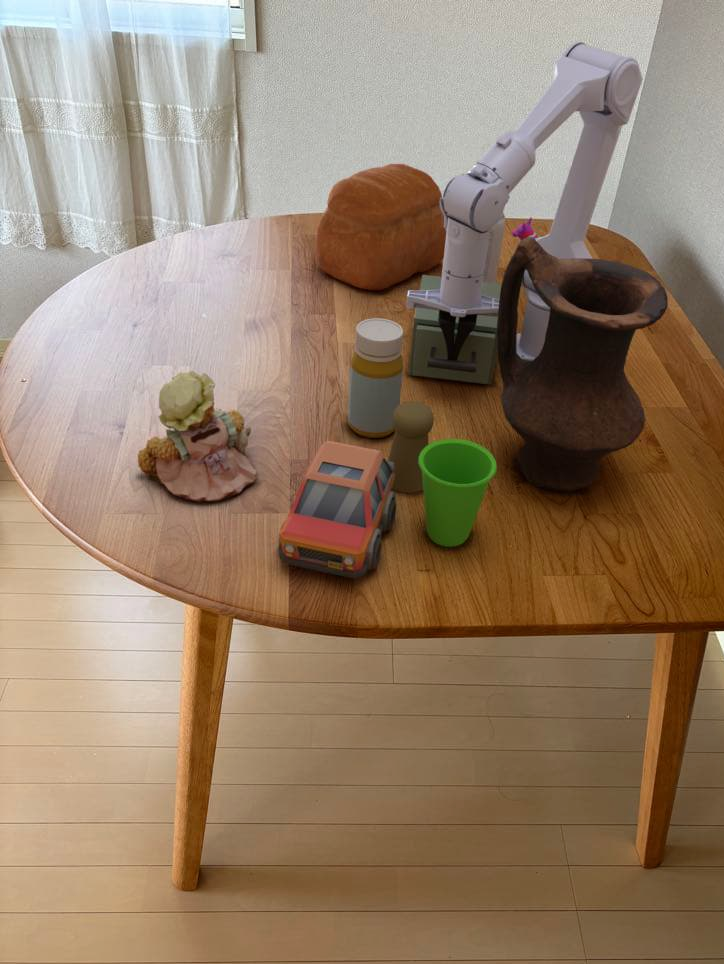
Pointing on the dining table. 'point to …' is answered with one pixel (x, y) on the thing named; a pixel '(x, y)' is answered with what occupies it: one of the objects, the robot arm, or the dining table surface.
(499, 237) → the energy drink can
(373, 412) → the bottle
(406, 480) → the pepper shaker
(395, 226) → the bread
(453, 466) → the cup
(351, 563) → the toy car
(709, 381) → the dining table surface
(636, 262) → the dining table surface
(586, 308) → the jug
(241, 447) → the figurine
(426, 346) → the drawer
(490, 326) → the cabinet
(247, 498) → the dining table surface
